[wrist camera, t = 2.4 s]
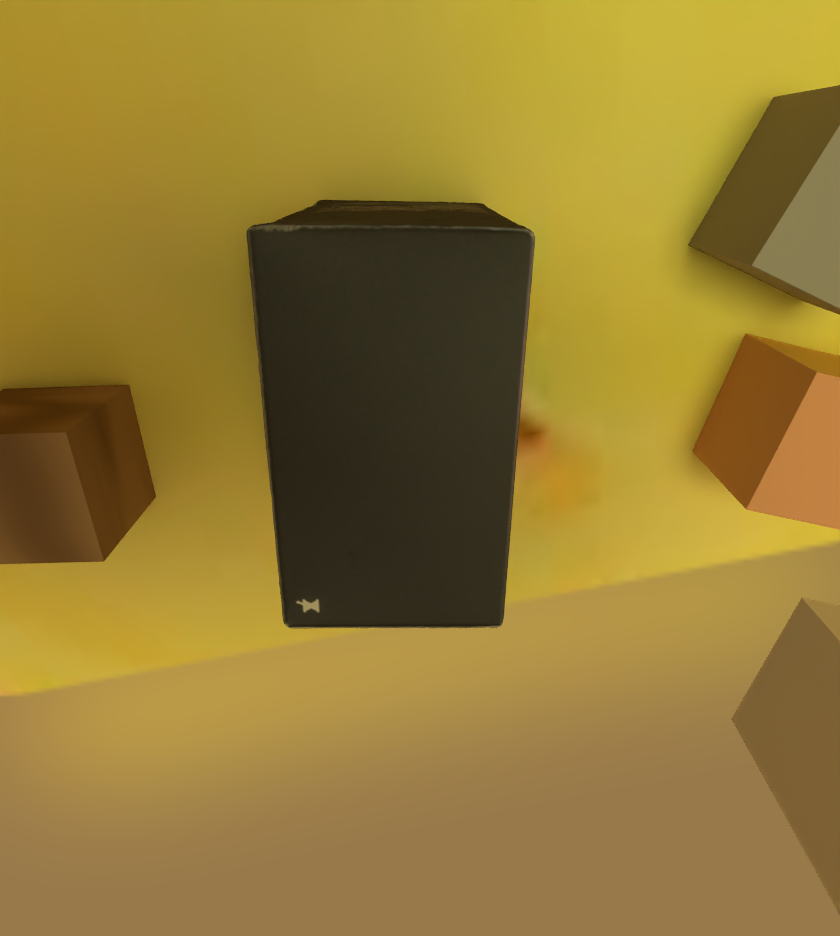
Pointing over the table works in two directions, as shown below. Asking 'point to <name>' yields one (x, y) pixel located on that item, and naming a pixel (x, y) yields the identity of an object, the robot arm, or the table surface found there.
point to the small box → (391, 408)
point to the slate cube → (784, 201)
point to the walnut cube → (69, 473)
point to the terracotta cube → (778, 431)
